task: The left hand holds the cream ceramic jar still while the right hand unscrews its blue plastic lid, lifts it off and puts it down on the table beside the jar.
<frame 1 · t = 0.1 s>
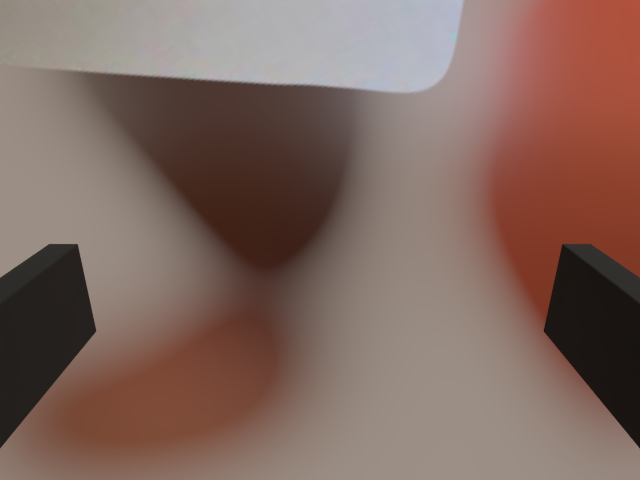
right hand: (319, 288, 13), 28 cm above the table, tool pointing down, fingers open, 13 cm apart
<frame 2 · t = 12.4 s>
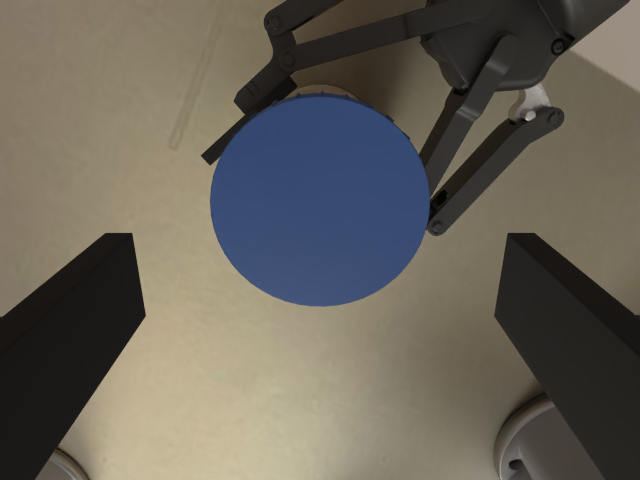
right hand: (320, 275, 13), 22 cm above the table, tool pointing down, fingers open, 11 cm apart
left hand: (263, 211, 28), fingers closed on jar, 8 cm apart
lid: (320, 208, 19), point 15 cm above the table, screwed on, not yet turned
jar: (320, 145, 33), on the table, touching left hand
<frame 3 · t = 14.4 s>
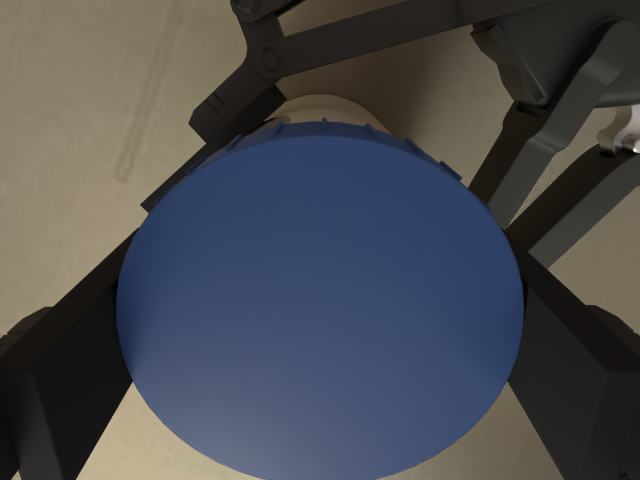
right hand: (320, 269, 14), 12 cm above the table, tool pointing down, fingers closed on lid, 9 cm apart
left hand: (238, 279, 20), fingers closed on jar, 8 cm apart
lid: (320, 331, 11), point 15 cm above the table, screwed on, not yet turned, touching right hand
jar: (319, 175, 25), on the table, touching left hand
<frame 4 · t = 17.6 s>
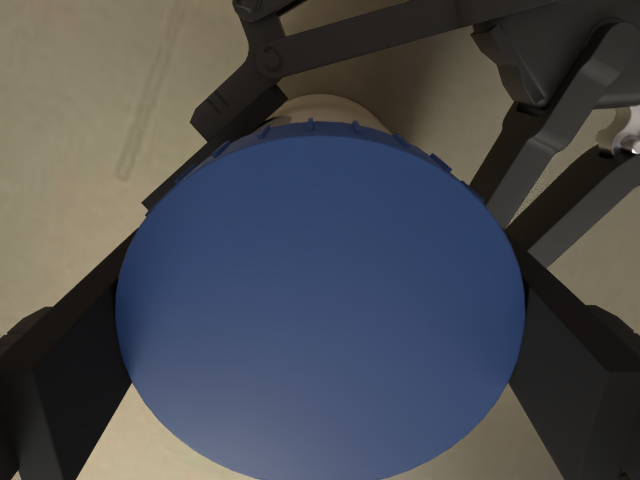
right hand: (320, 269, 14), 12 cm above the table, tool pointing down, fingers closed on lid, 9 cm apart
left hand: (238, 277, 20), fingers closed on jar, 8 cm apart
lid: (320, 332, 11), point 15 cm above the table, turned 103° so far, risen 0.1 cm, still on its thread, touching right hand
jar: (320, 175, 25), on the table, touching left hand
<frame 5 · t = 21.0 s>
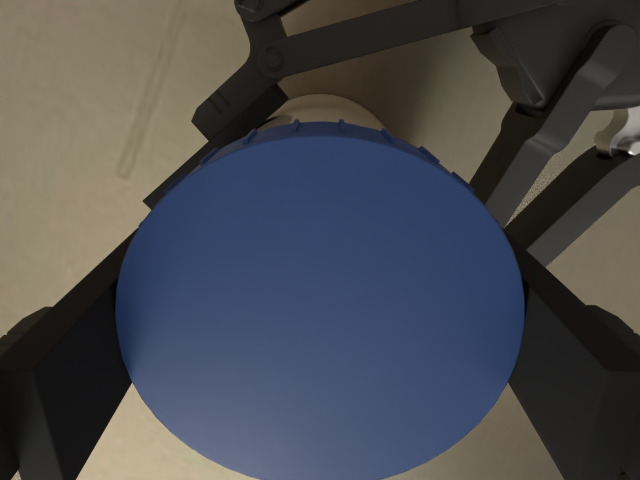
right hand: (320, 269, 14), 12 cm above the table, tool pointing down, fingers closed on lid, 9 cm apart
left hand: (238, 275, 20), fingers closed on jar, 8 cm apart
lid: (320, 332, 11), point 15 cm above the table, turned 207° so far, risen 0.3 cm, still on its thread, touching right hand
jar: (320, 174, 25), on the table, touching left hand
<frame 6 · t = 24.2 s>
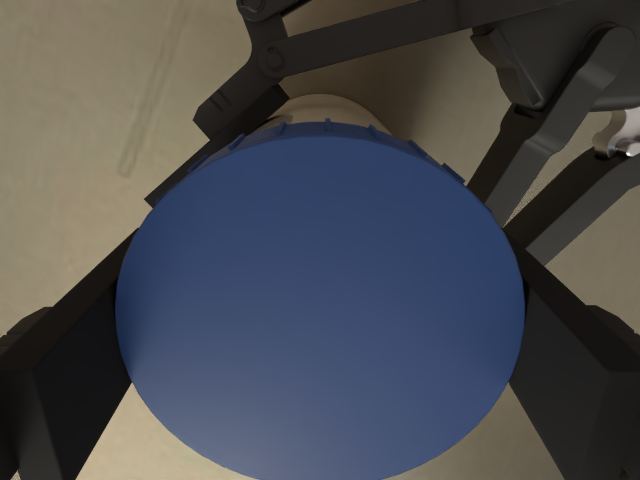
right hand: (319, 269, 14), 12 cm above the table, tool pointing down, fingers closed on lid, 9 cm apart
left hand: (238, 273, 20), fingers closed on jar, 8 cm apart
lid: (320, 332, 11), point 16 cm above the table, turned 310° so far, risen 0.4 cm, still on its thread, touching right hand
jar: (320, 174, 25), on the table, touching left hand
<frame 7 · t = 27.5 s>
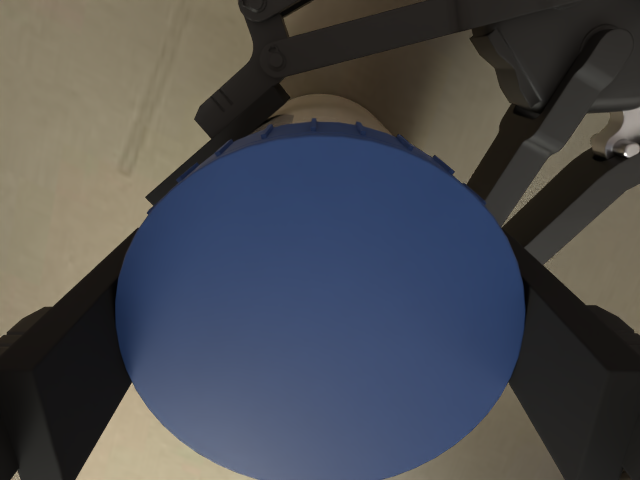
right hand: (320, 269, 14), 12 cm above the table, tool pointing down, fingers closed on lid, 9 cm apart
left hand: (238, 272, 20), fingers closed on jar, 8 cm apart
lid: (320, 332, 11), point 16 cm above the table, turned 414° so far, risen 0.6 cm, still on its thread, touching right hand
jar: (319, 173, 25), on the table, touching left hand
when the right hand's fingers open (0 cm above the table, at t = 33.6 s): lid drops 2 cm, point 2 cm above the table.
when the left hand's fingers open (7 cm above the table, at t = 34.5 s): jar stays where it is, on the table.
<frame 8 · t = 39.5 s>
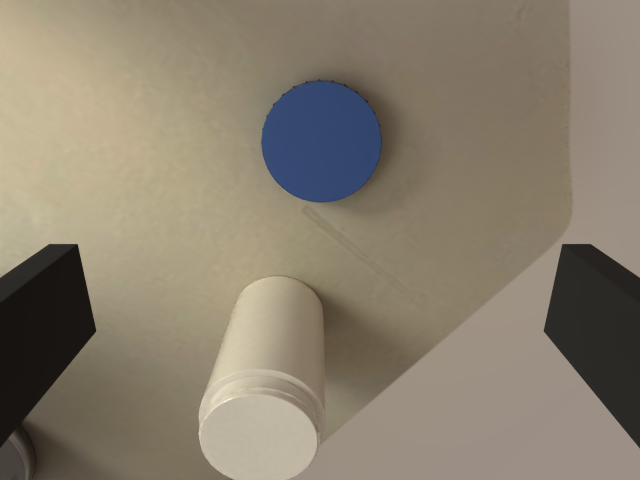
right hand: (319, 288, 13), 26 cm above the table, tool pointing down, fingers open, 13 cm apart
lid: (321, 144, 35), point 2 cm above the table, off its thread
jar: (278, 316, 43), on the table
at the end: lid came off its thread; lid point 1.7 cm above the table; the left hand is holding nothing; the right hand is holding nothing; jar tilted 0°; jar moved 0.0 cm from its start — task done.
